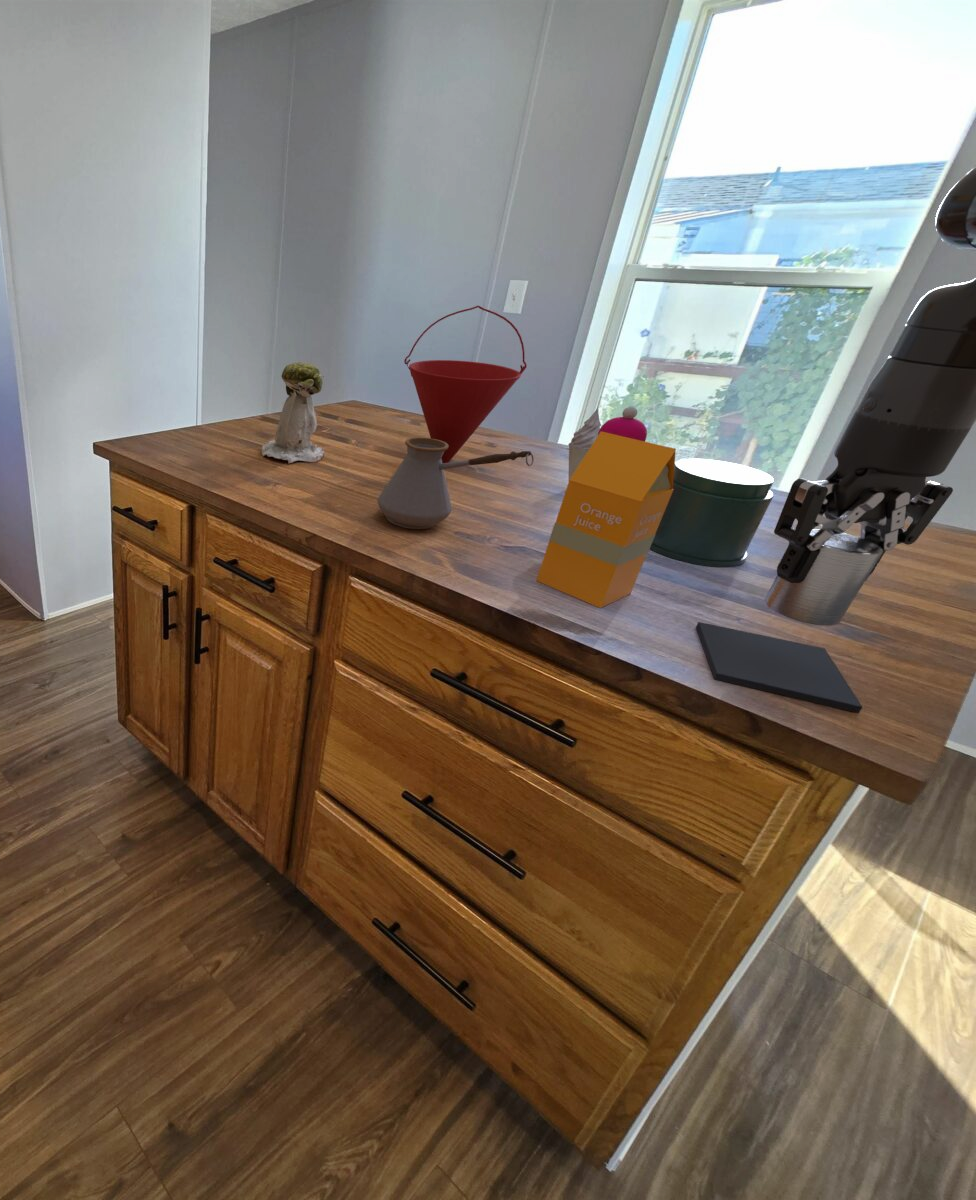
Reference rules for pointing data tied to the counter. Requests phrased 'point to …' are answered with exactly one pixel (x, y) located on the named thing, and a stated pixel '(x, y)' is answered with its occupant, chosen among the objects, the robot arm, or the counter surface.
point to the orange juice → (608, 519)
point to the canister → (712, 512)
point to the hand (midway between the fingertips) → (819, 578)
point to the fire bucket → (459, 393)
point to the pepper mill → (626, 425)
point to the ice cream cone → (583, 441)
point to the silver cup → (826, 581)
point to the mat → (776, 666)
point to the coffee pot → (426, 484)
